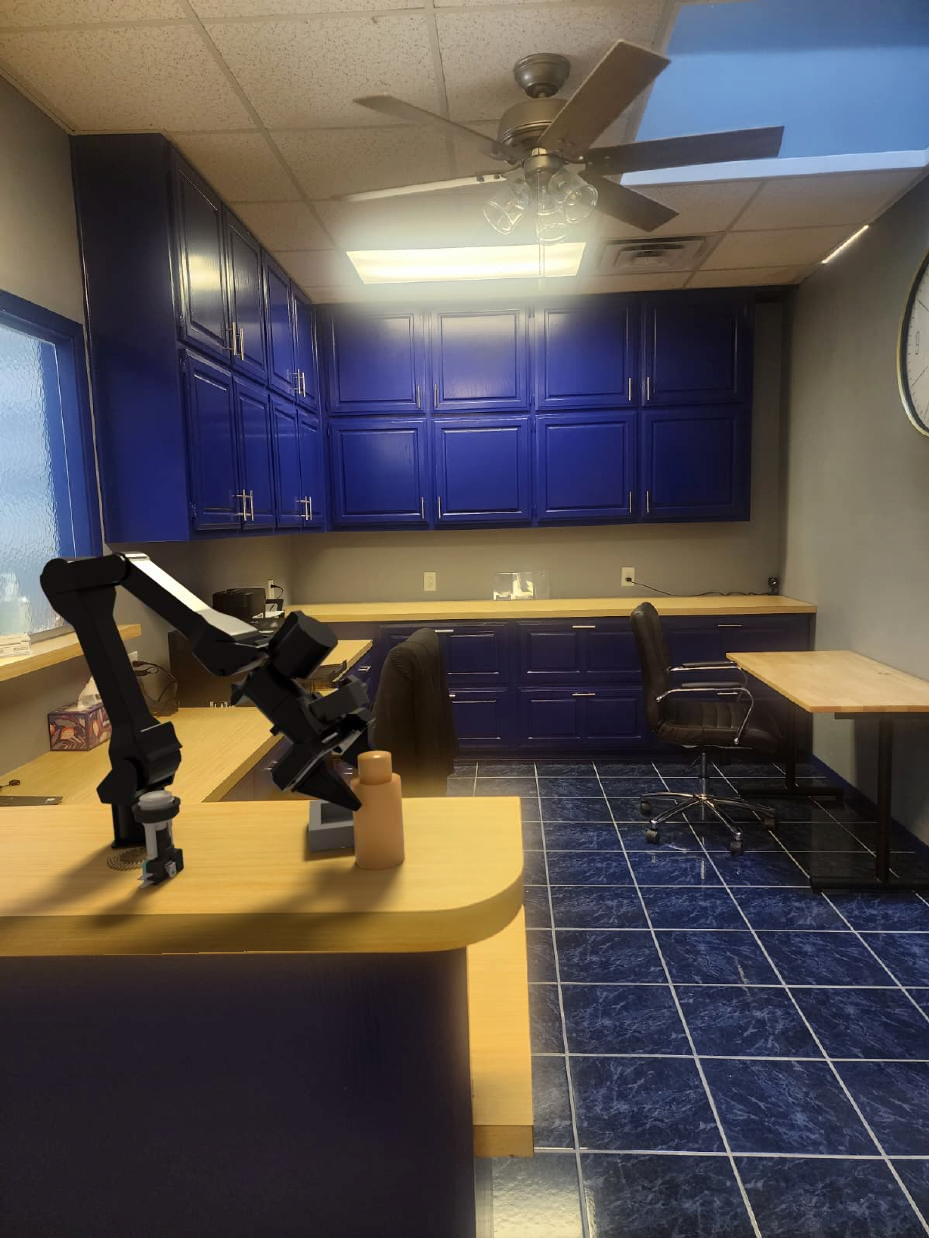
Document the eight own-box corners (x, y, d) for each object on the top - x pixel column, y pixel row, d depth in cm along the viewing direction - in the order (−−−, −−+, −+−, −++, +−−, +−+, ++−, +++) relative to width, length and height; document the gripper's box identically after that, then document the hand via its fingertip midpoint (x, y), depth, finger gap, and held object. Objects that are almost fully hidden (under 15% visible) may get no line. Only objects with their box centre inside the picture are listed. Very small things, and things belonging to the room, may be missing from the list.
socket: (310, 851, 92) (308, 830, 92) (310, 820, 103) (309, 800, 103) (396, 841, 94) (395, 820, 94) (388, 811, 105) (387, 792, 105)
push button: (159, 894, 83) (151, 809, 81) (120, 890, 84) (112, 806, 83) (196, 868, 89) (189, 789, 88) (159, 864, 90) (151, 786, 89)
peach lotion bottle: (356, 872, 86) (350, 765, 85) (354, 851, 92) (348, 751, 90) (407, 865, 87) (401, 760, 86) (401, 845, 93) (396, 746, 92)
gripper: (286, 673, 79) (387, 775, 78) (356, 647, 97) (440, 730, 95) (229, 742, 82) (325, 842, 81) (308, 704, 100) (387, 785, 98)
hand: (374, 794), depth 89 cm, fingers open, 9 cm apart
